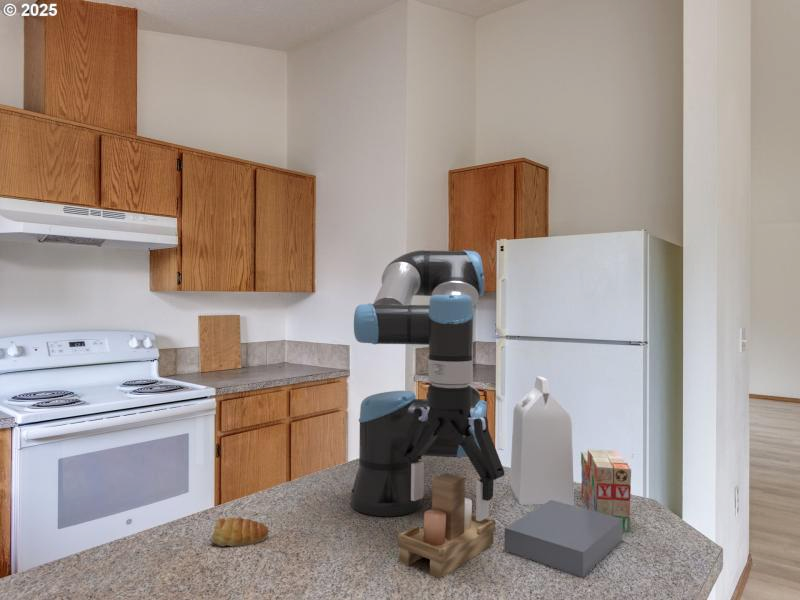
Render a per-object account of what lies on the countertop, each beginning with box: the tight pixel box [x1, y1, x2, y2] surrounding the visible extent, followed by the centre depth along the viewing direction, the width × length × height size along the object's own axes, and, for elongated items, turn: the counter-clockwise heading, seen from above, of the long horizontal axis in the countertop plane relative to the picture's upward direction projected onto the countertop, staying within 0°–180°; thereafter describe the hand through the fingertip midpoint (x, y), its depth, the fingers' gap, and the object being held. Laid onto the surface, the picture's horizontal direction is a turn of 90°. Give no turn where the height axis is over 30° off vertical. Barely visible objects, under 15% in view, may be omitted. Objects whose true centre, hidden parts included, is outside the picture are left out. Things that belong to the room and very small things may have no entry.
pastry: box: [211, 516, 269, 547], centre depth 101 cm, size 9×7×4 cm
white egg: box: [464, 497, 473, 530], centre depth 100 cm, size 4×4×4 cm
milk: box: [509, 375, 575, 506], centre depth 126 cm, size 12×12×26 cm
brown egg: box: [423, 509, 446, 546], centre depth 94 cm, size 4×4×4 cm
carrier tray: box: [397, 472, 496, 579], centre depth 97 cm, size 16×9×13 cm, turn 140°
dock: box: [503, 500, 623, 578], centre depth 100 cm, size 14×18×4 cm
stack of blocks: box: [580, 449, 632, 533], centre depth 117 cm, size 21×6×12 cm, turn 170°
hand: (448, 508), depth 97 cm, fingers open, 13 cm apart
